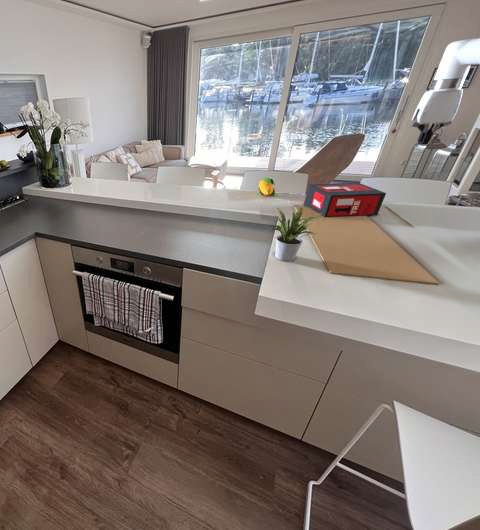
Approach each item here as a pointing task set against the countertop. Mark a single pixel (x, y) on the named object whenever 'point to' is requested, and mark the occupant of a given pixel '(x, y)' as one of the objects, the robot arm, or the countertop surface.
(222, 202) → the countertop surface
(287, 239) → the house plant
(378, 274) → the mat
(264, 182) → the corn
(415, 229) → the countertop surface
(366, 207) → the cleaning product box
